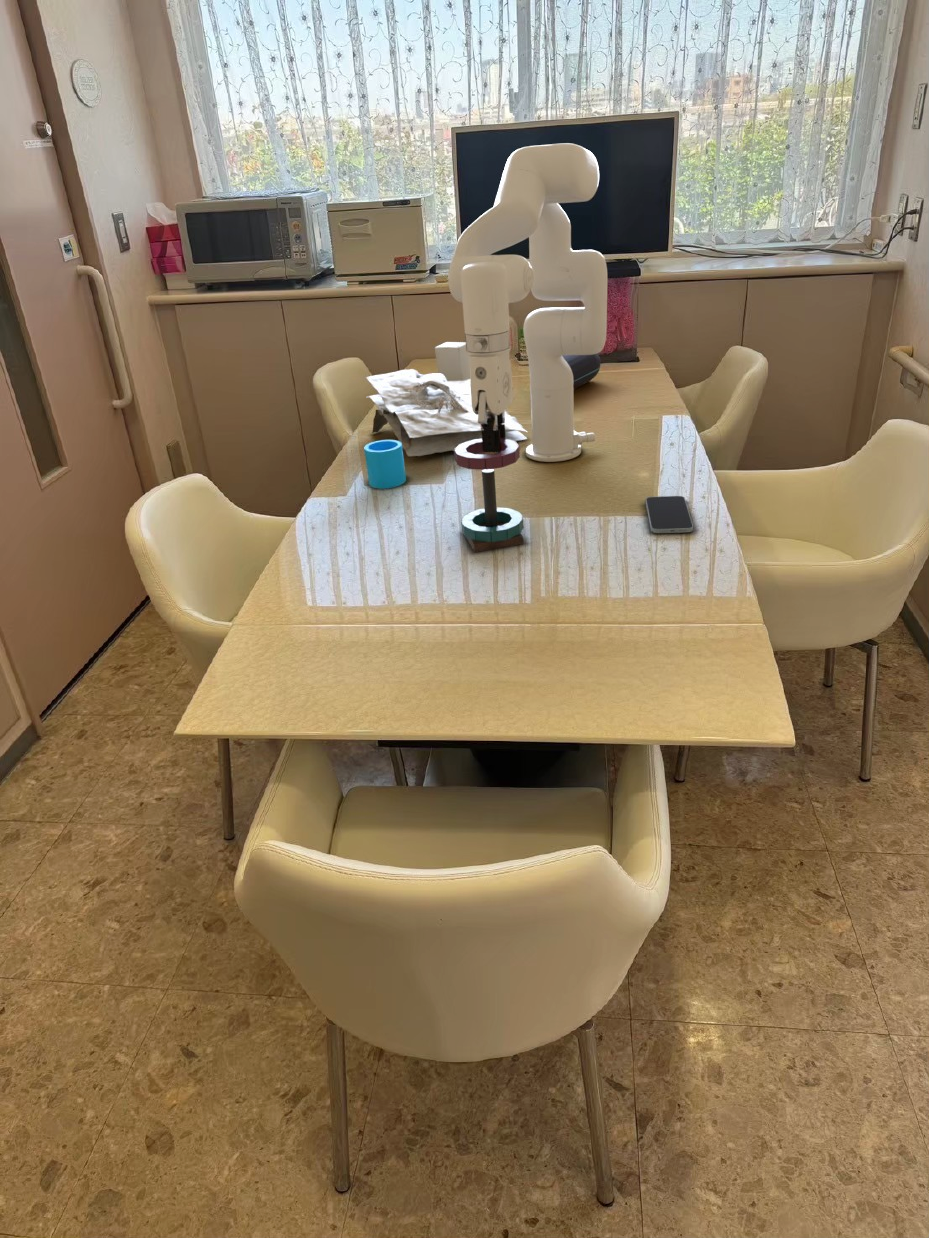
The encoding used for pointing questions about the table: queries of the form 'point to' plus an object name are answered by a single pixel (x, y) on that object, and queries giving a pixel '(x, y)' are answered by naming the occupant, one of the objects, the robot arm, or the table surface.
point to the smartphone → (668, 514)
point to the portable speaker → (583, 367)
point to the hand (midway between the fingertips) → (494, 448)
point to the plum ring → (471, 459)
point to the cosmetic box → (453, 361)
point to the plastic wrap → (430, 411)
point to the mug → (385, 464)
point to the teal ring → (492, 533)
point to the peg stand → (492, 516)
